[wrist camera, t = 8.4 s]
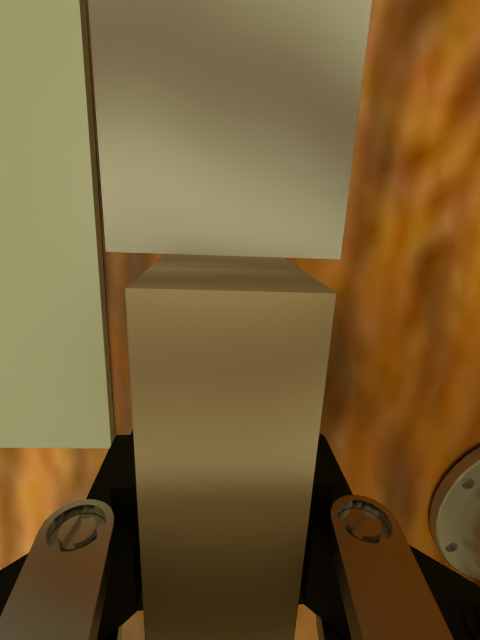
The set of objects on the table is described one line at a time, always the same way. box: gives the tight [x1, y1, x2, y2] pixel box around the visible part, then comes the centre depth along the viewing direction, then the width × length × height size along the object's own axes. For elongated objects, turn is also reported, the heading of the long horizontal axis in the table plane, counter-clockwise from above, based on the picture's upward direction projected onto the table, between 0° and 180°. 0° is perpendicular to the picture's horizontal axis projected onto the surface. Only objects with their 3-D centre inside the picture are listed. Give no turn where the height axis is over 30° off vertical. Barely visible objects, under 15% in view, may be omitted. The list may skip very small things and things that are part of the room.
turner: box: [88, 0, 372, 640], centre depth 8 cm, size 21×6×5 cm, turn 178°
